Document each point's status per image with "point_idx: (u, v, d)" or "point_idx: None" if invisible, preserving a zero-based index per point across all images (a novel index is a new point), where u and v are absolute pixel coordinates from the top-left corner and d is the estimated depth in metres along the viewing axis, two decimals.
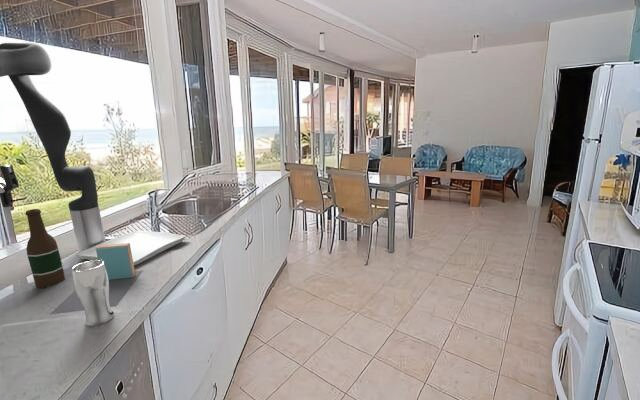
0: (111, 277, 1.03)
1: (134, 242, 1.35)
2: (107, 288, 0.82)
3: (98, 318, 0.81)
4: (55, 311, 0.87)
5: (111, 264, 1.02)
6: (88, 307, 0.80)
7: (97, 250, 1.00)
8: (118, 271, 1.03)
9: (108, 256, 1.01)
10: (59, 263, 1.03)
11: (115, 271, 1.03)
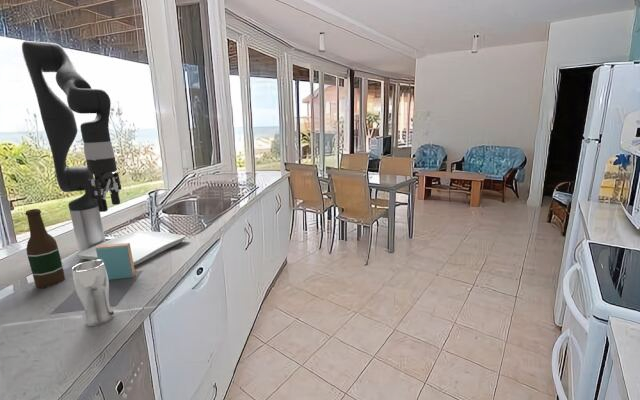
0: (111, 277, 1.03)
1: (134, 242, 1.35)
2: (107, 288, 0.82)
3: (98, 318, 0.81)
4: (55, 311, 0.87)
5: (111, 264, 1.02)
6: (88, 307, 0.80)
7: (97, 250, 1.00)
8: (118, 271, 1.03)
9: (108, 256, 1.01)
10: (59, 263, 1.03)
11: (115, 271, 1.03)
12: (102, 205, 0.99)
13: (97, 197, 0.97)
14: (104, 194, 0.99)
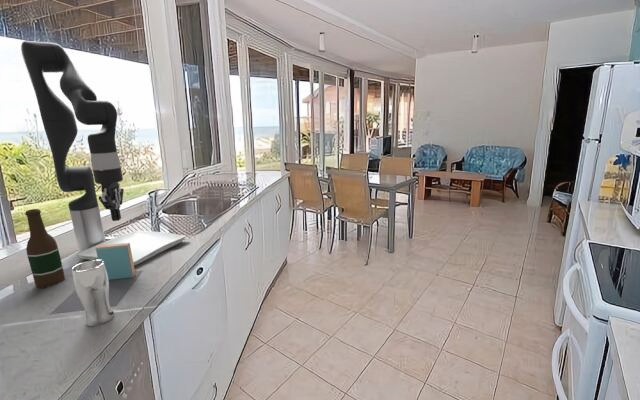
0: (111, 277, 1.03)
1: (134, 242, 1.35)
2: (107, 288, 0.82)
3: (98, 318, 0.81)
4: (55, 311, 0.87)
5: (111, 264, 1.02)
6: (88, 307, 0.80)
7: (97, 250, 1.00)
8: (118, 271, 1.03)
9: (108, 256, 1.01)
10: (59, 263, 1.03)
11: (115, 271, 1.03)
12: (115, 214, 1.05)
13: (111, 207, 1.02)
14: (116, 204, 1.05)
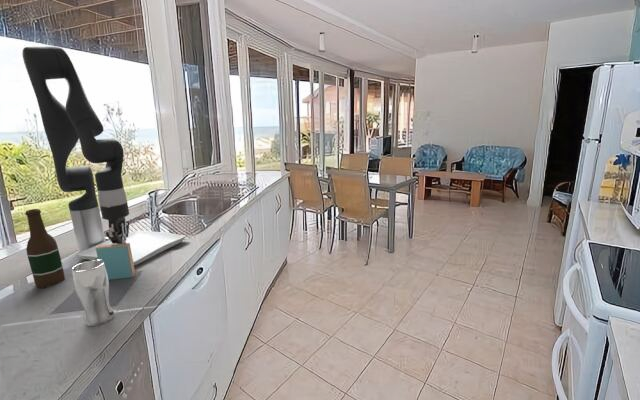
0: (111, 277, 1.03)
1: (134, 242, 1.35)
2: (107, 288, 0.82)
3: (98, 318, 0.81)
4: (55, 311, 0.87)
5: (111, 264, 1.02)
6: (88, 307, 0.80)
7: (97, 250, 1.00)
8: (118, 271, 1.03)
9: (108, 256, 1.01)
10: (59, 263, 1.03)
11: (115, 271, 1.03)
12: None
13: (118, 241, 1.05)
14: (123, 238, 1.07)
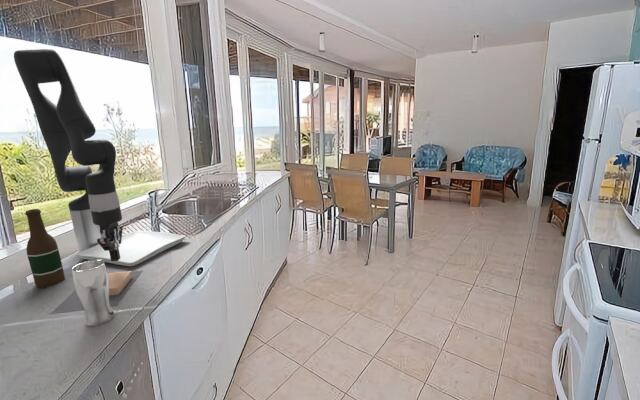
0: None
1: (134, 242, 1.35)
2: (107, 288, 0.82)
3: (98, 318, 0.81)
4: (55, 311, 0.87)
5: None
6: (88, 307, 0.80)
7: None
8: None
9: None
10: (59, 263, 1.03)
11: None
12: (114, 255, 1.01)
13: (110, 248, 0.99)
14: (115, 245, 1.01)
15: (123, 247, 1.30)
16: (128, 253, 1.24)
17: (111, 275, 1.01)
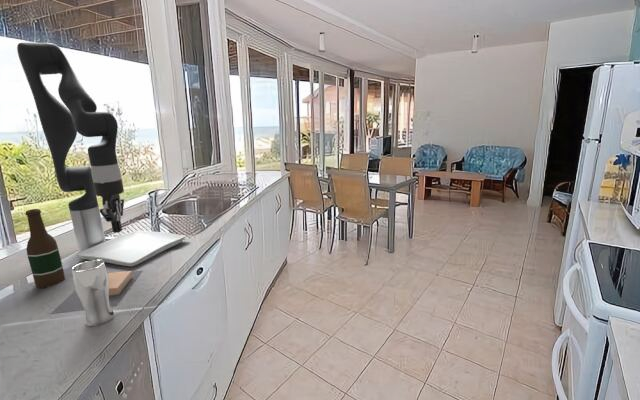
0: None
1: (134, 242, 1.35)
2: (107, 288, 0.82)
3: (98, 318, 0.81)
4: (55, 311, 0.87)
5: None
6: (88, 307, 0.80)
7: None
8: None
9: None
10: (59, 263, 1.03)
11: None
12: (116, 226, 1.04)
13: (112, 219, 1.01)
14: (117, 216, 1.03)
15: (123, 247, 1.30)
16: (128, 253, 1.24)
17: (111, 275, 1.01)
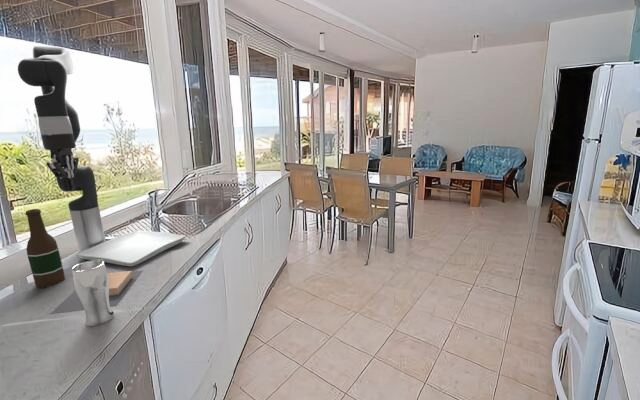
0: None
1: (134, 242, 1.35)
2: (107, 288, 0.82)
3: (98, 318, 0.81)
4: (55, 311, 0.87)
5: None
6: (88, 307, 0.80)
7: None
8: None
9: None
10: (59, 263, 1.03)
11: None
12: (67, 184, 0.99)
13: (62, 175, 0.96)
14: (68, 173, 0.99)
15: (123, 247, 1.30)
16: (128, 253, 1.24)
17: (111, 275, 1.01)
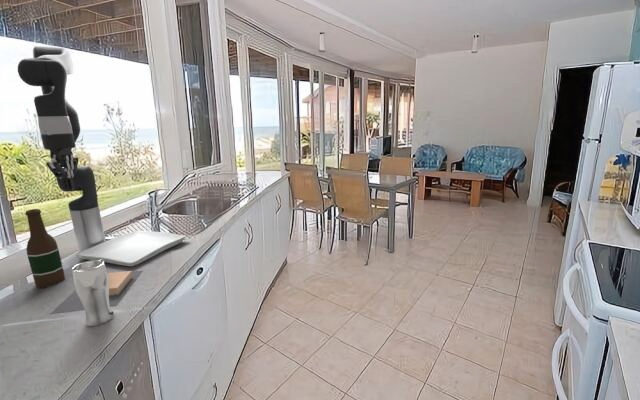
0: None
1: (134, 242, 1.35)
2: (107, 288, 0.82)
3: (98, 318, 0.81)
4: (55, 311, 0.87)
5: None
6: (88, 307, 0.80)
7: None
8: None
9: None
10: (59, 263, 1.03)
11: None
12: (67, 184, 0.99)
13: (62, 175, 0.96)
14: (68, 173, 0.99)
15: (123, 247, 1.30)
16: (128, 253, 1.24)
17: (111, 275, 1.01)
